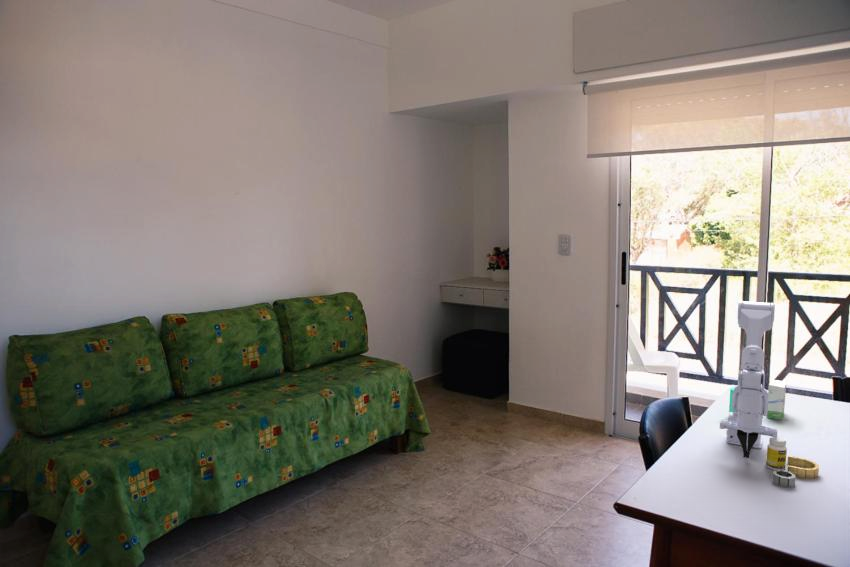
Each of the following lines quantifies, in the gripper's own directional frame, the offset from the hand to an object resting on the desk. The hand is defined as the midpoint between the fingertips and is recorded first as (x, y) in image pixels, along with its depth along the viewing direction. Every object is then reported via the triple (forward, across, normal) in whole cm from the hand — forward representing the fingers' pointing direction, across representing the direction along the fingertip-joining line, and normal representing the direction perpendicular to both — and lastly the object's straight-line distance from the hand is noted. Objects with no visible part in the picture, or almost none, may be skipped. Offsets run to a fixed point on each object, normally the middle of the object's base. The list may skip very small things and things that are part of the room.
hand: (746, 456), depth 174 cm
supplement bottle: (+2, +8, 0) cm, 8 cm away
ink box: (+2, +6, +48) cm, 48 cm away
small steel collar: (+2, +10, -10) cm, 14 cm away
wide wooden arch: (+2, +14, 0) cm, 14 cm away
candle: (+2, -5, +38) cm, 38 cm away
